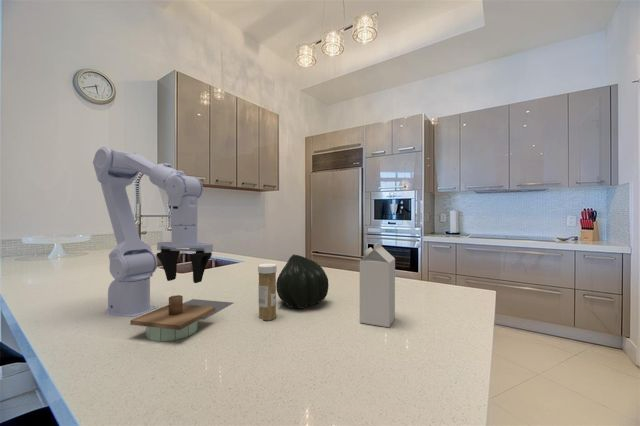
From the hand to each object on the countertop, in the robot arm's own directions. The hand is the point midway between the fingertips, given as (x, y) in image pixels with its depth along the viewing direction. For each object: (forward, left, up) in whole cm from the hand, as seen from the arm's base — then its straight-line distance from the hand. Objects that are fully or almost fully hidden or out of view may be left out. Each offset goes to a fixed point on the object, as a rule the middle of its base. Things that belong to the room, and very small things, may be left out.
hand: (184, 281), depth 72 cm
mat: (-3, +8, -10) cm, 13 cm away
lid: (+2, -6, -7) cm, 9 cm away
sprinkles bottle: (+18, +7, -10) cm, 22 cm away
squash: (+23, +20, -10) cm, 33 cm away
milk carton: (+45, +12, -10) cm, 48 cm away
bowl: (+2, -7, -10) cm, 12 cm away
